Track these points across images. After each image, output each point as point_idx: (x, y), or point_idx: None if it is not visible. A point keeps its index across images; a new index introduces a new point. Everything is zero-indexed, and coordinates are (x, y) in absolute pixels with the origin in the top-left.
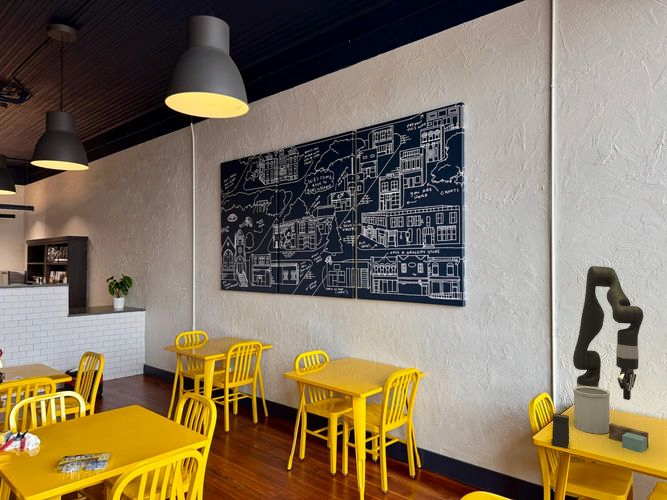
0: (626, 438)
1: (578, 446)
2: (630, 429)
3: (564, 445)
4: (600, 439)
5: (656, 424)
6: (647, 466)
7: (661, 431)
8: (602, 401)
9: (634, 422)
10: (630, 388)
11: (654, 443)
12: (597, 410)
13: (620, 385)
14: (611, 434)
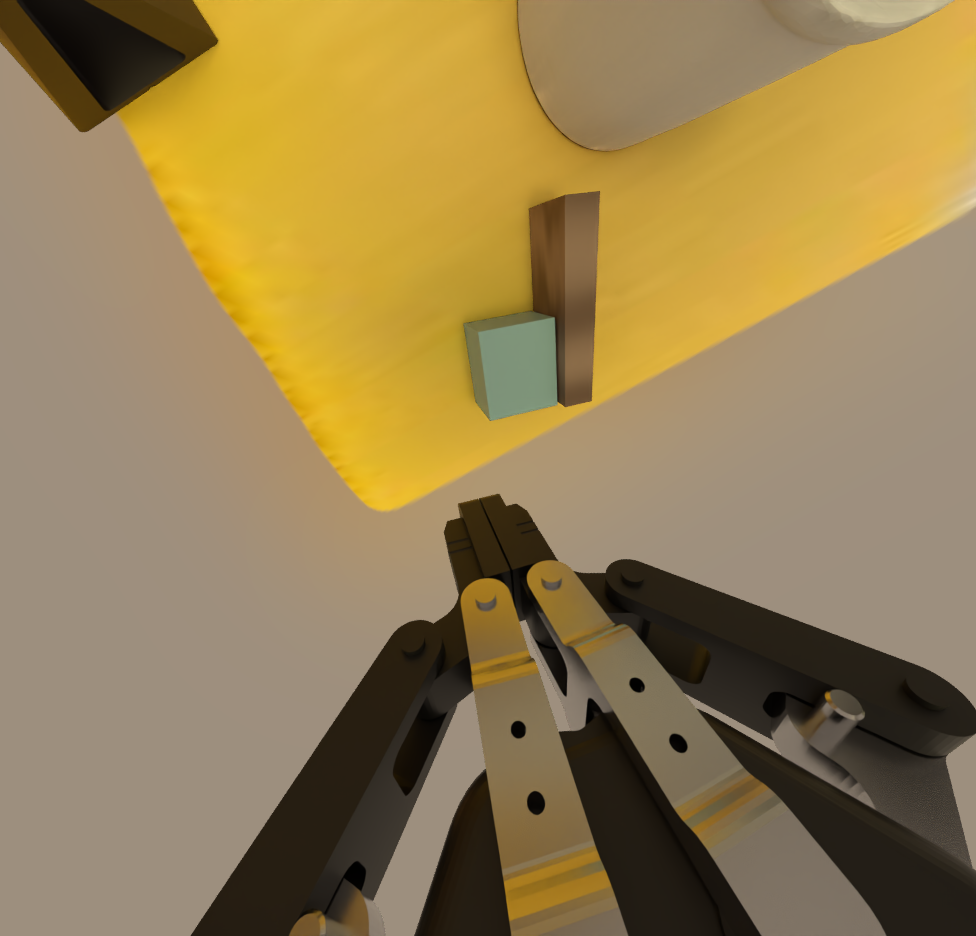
0: (478, 352)
1: (217, 158)
2: (572, 329)
3: (46, 92)
4: (473, 183)
5: (870, 245)
6: (357, 487)
7: (787, 306)
8: (734, 25)
9: (861, 157)
10: (536, 646)
11: (624, 368)
12: (634, 31)
13: (340, 728)
14: (539, 220)
